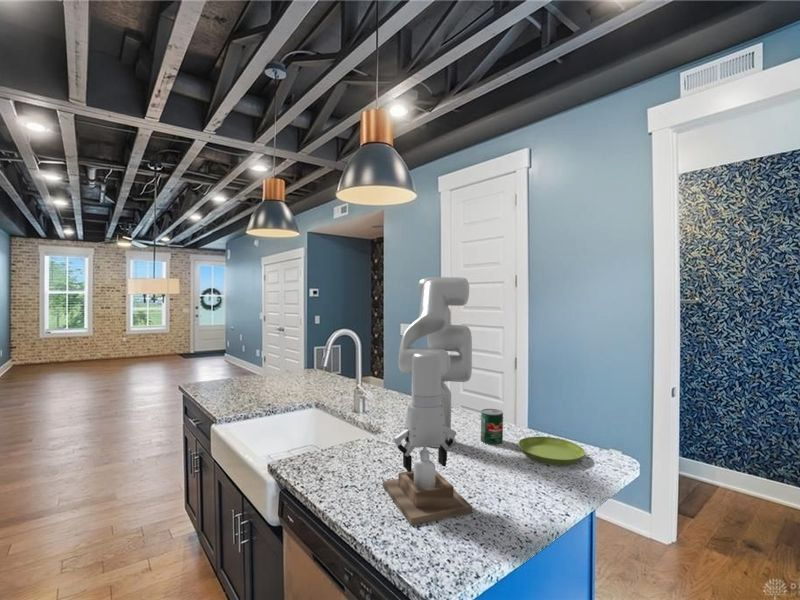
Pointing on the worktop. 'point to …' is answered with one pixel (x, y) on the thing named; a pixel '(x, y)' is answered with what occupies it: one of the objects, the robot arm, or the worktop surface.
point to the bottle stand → (425, 499)
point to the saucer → (551, 450)
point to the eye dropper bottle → (424, 471)
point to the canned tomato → (492, 426)
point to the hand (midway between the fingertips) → (425, 467)
